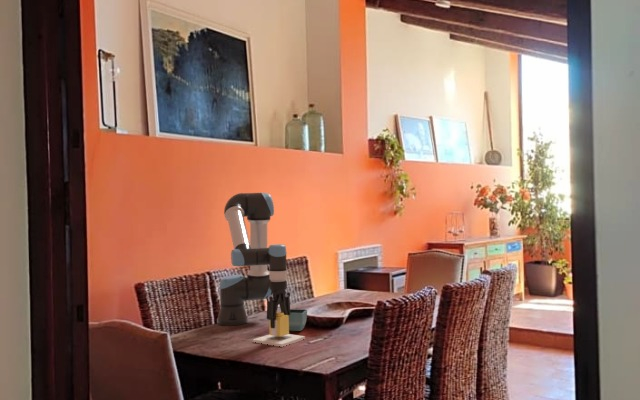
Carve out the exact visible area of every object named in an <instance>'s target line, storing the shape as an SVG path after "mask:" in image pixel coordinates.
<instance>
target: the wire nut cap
mask: <svg viewBox="0 0 640 400" xmlns="http://www.w3.org/2000/svg"><path fill="white" fill-rule="evenodd" d="M276 320H277V336H284V335H287V334H290V330H289V315H284V313H283V312H281V311H277V314H276ZM268 322H269V323H268V328H269V334H268V335H271V324H270V320H268Z"/></svg>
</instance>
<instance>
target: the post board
mask: <svg viewBox="0 0 640 400" xmlns="http://www.w3.org/2000/svg"><path fill="white" fill-rule="evenodd" d="M303 339H304V340H306V336H305V335H300V334H299V335H298V334H291V333H289V334H287V335H284V336H273V335H269V334H266V335H262V336H261V337H256V338H254V339H252V343H255V342H256V344H261V343H262V345H267V344H268V346H273V345H274V346H273V347H279V346H280V347H281V348H283V346H284V347H286V345H287V346H290V345H292V344H295V343H298V342H301V341H303ZM289 344H290V345H289ZM280 347H279V348H280Z"/></svg>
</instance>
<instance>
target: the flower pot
mask: <svg viewBox="0 0 640 400" xmlns="http://www.w3.org/2000/svg"><path fill="white" fill-rule="evenodd" d="M287 312H288V311H287ZM290 313H291V314H290V315H289V332H290V331H291V332H301V331H302V330H303V329H304V328H305V325H306V323H307V318H308V309H306V308H305V309H304V308H303V309H301V308H299V309H295V308H294V309H293V308H292V309H291V308H290Z"/></svg>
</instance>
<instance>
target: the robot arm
mask: <svg viewBox="0 0 640 400" xmlns="http://www.w3.org/2000/svg"><path fill="white" fill-rule="evenodd" d="M274 212H275V206H274V201H273V198H272V195H271V194H270V193H269V192H268V193H266V192H250V193H249V192H248V193H247V192H246V193H244V192H241V193H236V194H234V195H232V196H231V197H230V198H229V199H228V200H227V202H226V204H225V206H224V211H223V215H224V218H225V220H226V221H227V222H228V226H229V232H230V236H231V240H232V241H231V242H232V245H233V249H231V251H230V260H231V261H230V263H231V265H232V266H233V267H250V270H249V271H248V272H247V275H246V277H244V275H243V274H233V275H232V274H231V275H228V276H225V277H222V278H221V279H220V282H219V294H220V295H219V298H220V299H219V300H220V301H219V302H220V305H219V306H220V307H219V312H218V317H216V323H217V325H218V326H219V325H220V326H239V325H244V324H247V323H248V321H249V319H248V315H247V313H246V309H245V301H246V302H247V301H259V300H260V301H263V300H266V320H268V321H269V320H270V324H271V335H273V336H277V320H276V314H277V312H278V307H280V312H283V313H284V315H290V314H291V313H290V309H291V301H290V300H291V299H290V296H291V293H290V292H287V291H286V290H287V289H288V281H287V278H288V274H287V273H288V272H287V271H288V270H287V246H286V245H285V244H280V243H279V244H276V243H275V244H270V245H269V246H268V223H269V222H270V221H271V217H272V216H274V214H275V213H274ZM245 217H247V218H246V219H247V220H246V221H247V222H249V225H250V227H249V228H250V229H249V232H250V234H248V230H247V226H246V222H245ZM249 235H250V236H249ZM268 266H269V267H268ZM287 311H288V312H287Z"/></svg>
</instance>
